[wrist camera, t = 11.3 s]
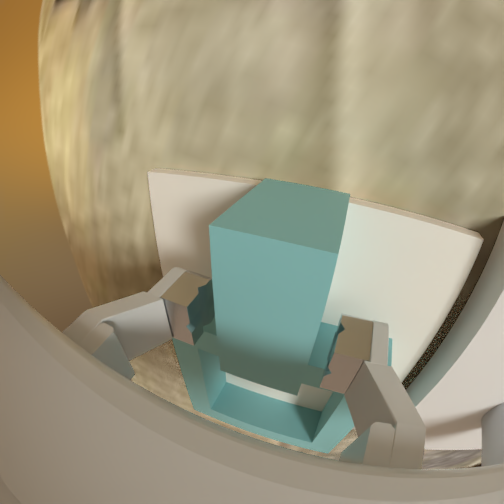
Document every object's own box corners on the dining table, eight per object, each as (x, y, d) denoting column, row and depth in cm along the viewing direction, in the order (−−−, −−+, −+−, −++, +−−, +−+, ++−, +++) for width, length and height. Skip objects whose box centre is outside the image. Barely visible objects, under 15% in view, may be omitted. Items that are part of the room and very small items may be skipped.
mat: (155, 168, 12) (147, 171, 11) (478, 232, 8) (483, 239, 7) (190, 371, 21) (187, 376, 20) (360, 423, 16) (359, 430, 16)
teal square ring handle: (183, 168, 11) (110, 205, 7) (443, 218, 8) (478, 289, 4) (209, 384, 19) (184, 424, 16) (336, 424, 16) (321, 471, 13)
